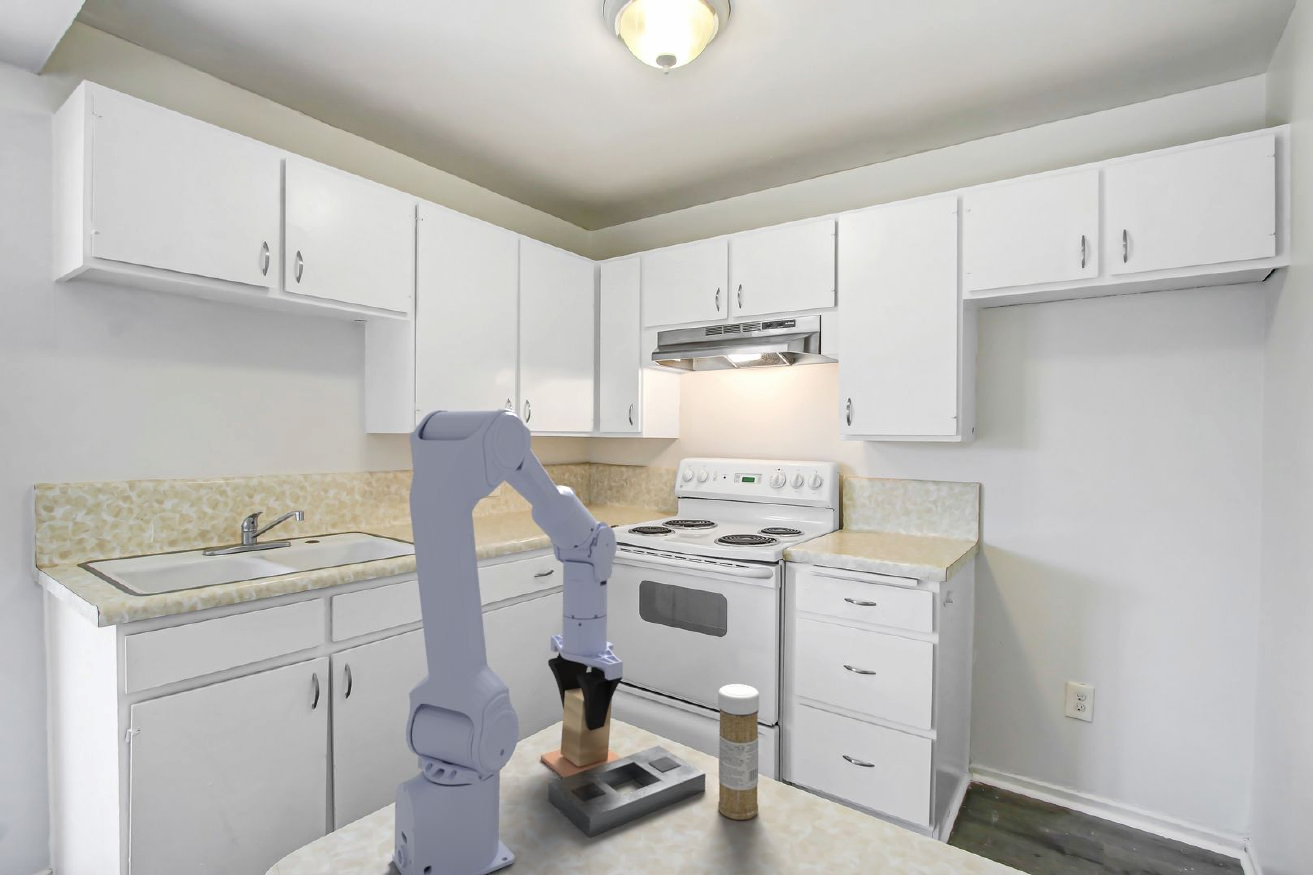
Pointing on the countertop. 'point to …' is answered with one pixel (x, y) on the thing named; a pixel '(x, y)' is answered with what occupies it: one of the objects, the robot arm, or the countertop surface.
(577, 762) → the wooden peg
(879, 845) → the countertop surface
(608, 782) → the square hole bar
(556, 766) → the tile
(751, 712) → the sprinkles bottle
